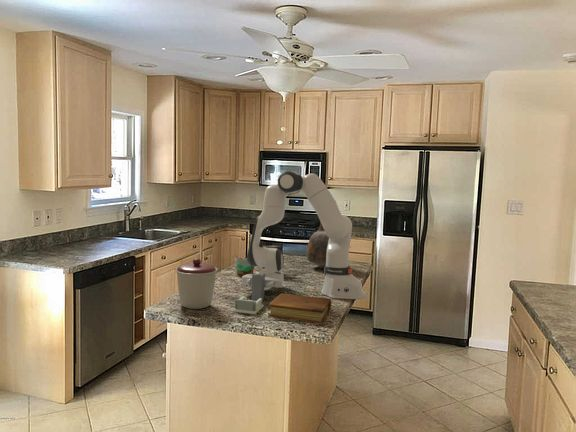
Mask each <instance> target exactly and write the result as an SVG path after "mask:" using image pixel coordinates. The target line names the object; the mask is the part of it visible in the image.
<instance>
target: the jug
mask: <svg viewBox="0 0 576 432" xmlns="http://www.w3.org/2000/svg"><path fill="white" fill-rule="evenodd" d="M328 241H329V237H328V236H327V235H326V233H325V230H324V228H323V226H322V224H321V221H320V222H319V227H318V230H317V231H315V232H313V234H312V235H311V236H310V238H309V240H308V242H307V243H308V244H307V245H306V246H307V248H306V259H307V261H308V262H309V263H311V264H314V265H316V266H318V267H319V268H321V269H323V270H325V265H326V252H327V246H328Z"/></svg>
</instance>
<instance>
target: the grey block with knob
mask: <svg viewBox="0 0 576 432" xmlns="http://www.w3.org/2000/svg"><path fill="white" fill-rule="evenodd" d="M265 288H266V287H265V273H260V271H259V272H258V271H256V272H253V275H252V285H251V300H252V301H257V300H258V299H259V298H262V301H263V300H265Z"/></svg>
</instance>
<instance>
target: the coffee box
mask: <svg viewBox="0 0 576 432" xmlns="http://www.w3.org/2000/svg"><path fill="white" fill-rule="evenodd" d="M262 248H276V249H279V250H280V251H281V252H282V246H280V245H277V244H276V245H273V244H272V245H271V244H270V245H262ZM265 268H266V267H263V266H261V271H262V270H263V269H265Z"/></svg>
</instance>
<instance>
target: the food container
mask: <svg viewBox="0 0 576 432" xmlns="http://www.w3.org/2000/svg"><path fill="white" fill-rule="evenodd" d="M234 262H235V264H236V265H235V266H236V276H238V277H241V276H244V275H246V274H254V269H255V266H251V265H250V264H249V263H248V262H247V257H244V258H240V257H238V256H236V257H235V259H234Z"/></svg>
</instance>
